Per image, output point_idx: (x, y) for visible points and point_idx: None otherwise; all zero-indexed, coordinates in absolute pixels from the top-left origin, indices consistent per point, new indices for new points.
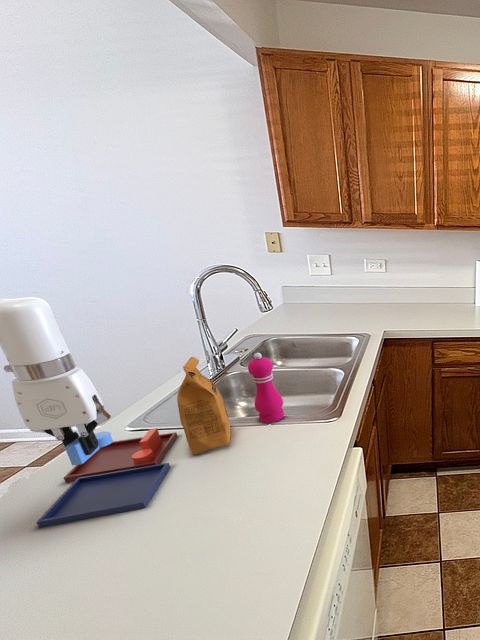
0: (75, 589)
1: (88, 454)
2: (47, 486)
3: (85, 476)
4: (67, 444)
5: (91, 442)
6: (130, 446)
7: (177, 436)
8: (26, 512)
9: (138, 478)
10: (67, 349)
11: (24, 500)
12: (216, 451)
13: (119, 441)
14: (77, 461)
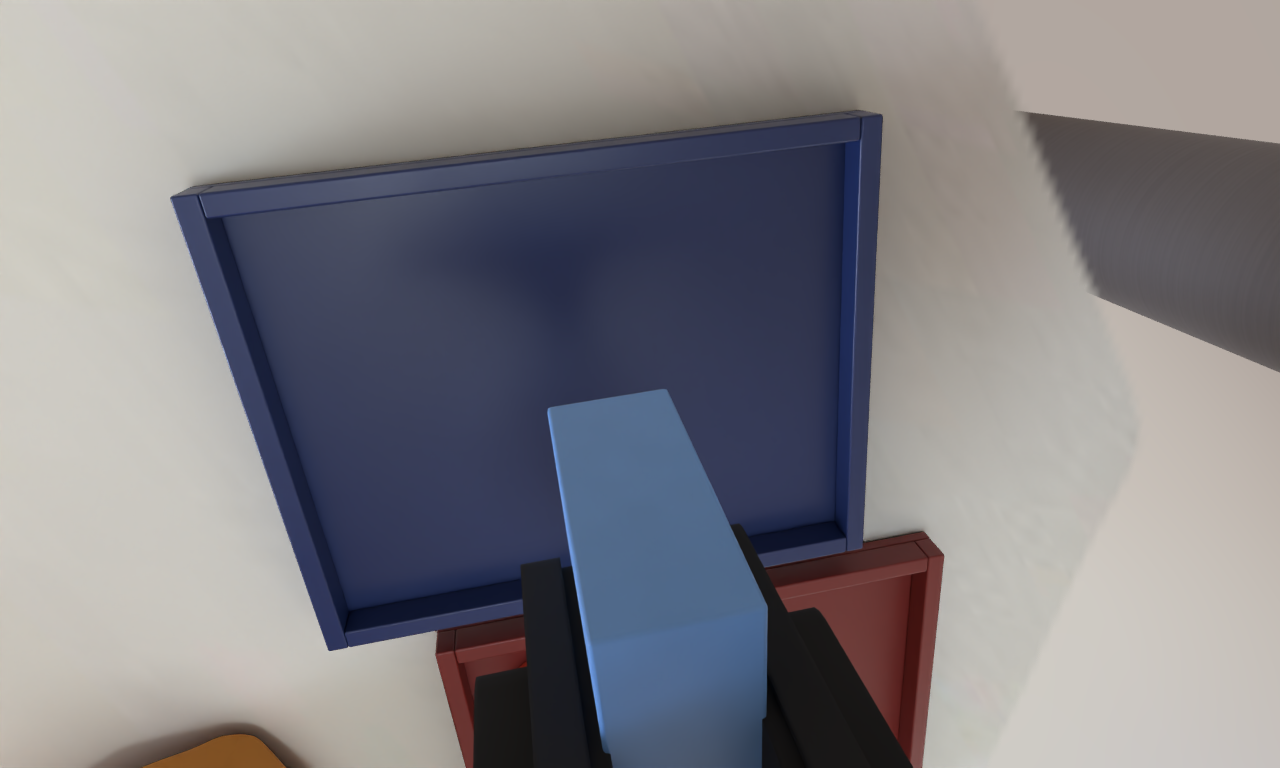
0: None
1: (535, 562)
2: (1005, 512)
3: (831, 564)
4: (794, 699)
5: (483, 761)
6: None
7: None
8: (1008, 294)
9: (478, 521)
10: None
11: (1066, 407)
12: (98, 759)
13: None
14: (596, 424)
